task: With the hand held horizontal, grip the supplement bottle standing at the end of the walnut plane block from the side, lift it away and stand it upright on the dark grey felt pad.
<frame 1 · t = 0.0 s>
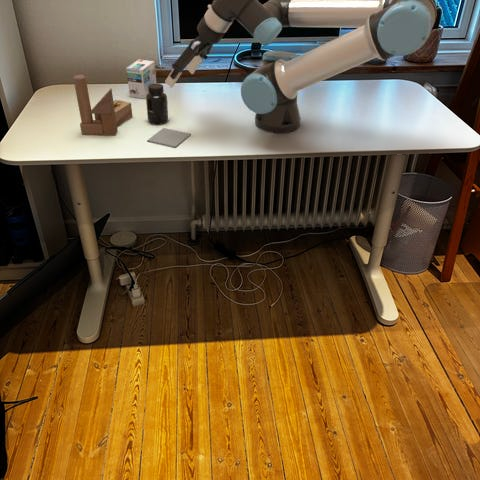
hand: (179, 77, 157), 15 cm above the table, tool tilted 35°, fingers open, 13 cm apart
wooden block: (99, 133, 159), on the table
supplement bottle: (158, 121, 168), on the table
felt pad: (169, 138, 157), on the table
plane block: (114, 121, 166), on the table
light bulb box: (143, 93, 187), on the table
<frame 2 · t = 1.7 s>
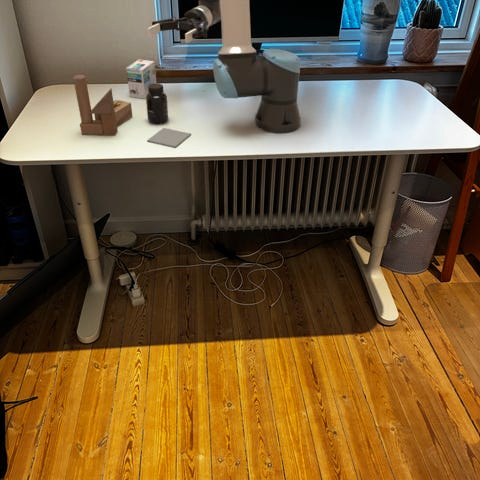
hand: (167, 35, 159), 25 cm above the table, tool horizontal, fingers open, 13 cm apart
nothing on the table moved.
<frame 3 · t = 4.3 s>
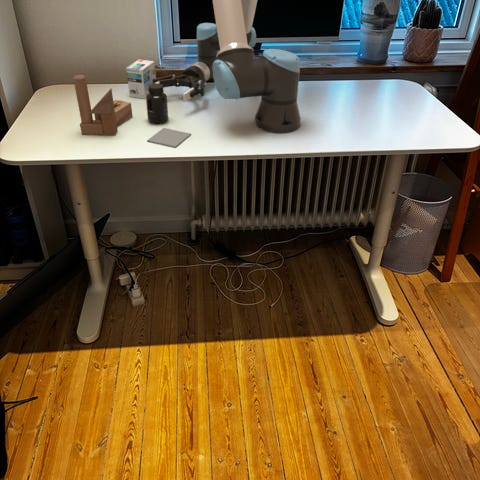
hand: (166, 94, 169), 6 cm above the table, tool horizontal, fingers open, 13 cm apart
nothing on the table moved.
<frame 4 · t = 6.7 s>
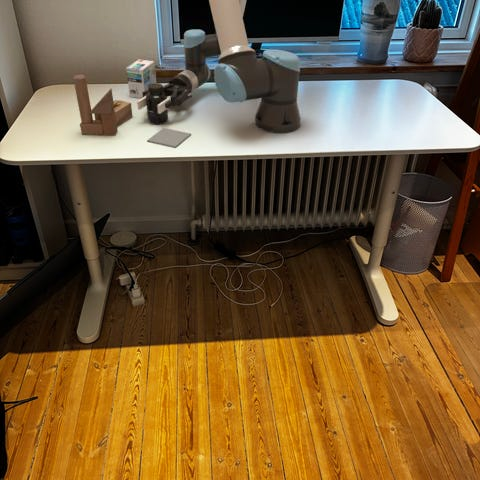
hand: (148, 107, 160), 7 cm above the table, tool horizontal, fingers closed on supplement bottle, 7 cm apart
supplement bottle: (158, 121, 168), on the table, touching gripper
everything else where it was.
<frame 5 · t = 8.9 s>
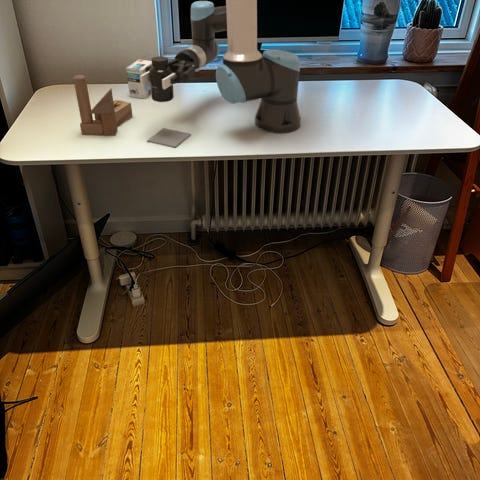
hand: (152, 82, 145), 18 cm above the table, tool horizontal, fingers closed on supplement bottle, 7 cm apart
supplement bottle: (163, 99, 153), point 11 cm above the table, touching gripper
everything else where it was.
when the fingers open (8 cm above the table, at t = 11.3 s): supplement bottle drops 1 cm, resting on felt pad.
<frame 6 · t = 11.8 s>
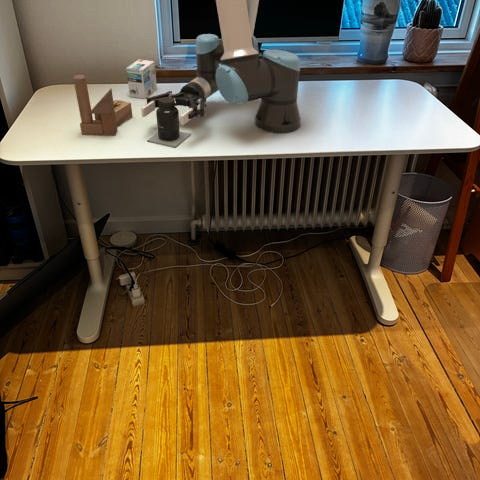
hand: (161, 116, 149), 9 cm above the table, tool horizontal, fingers open, 13 cm apart
supplement bottle: (169, 137, 157), resting on felt pad
everything else where it was.
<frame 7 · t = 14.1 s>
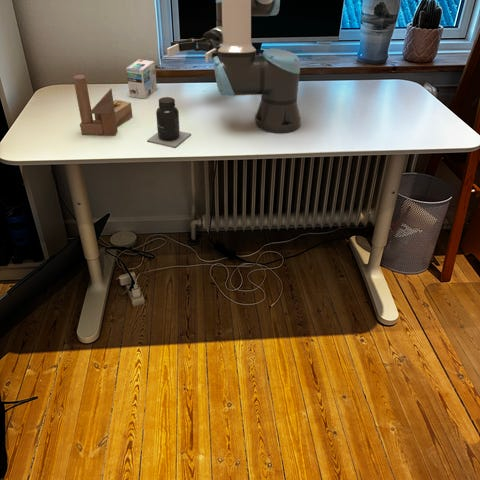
hand: (187, 55, 157), 21 cm above the table, tool horizontal, fingers open, 13 cm apart
nothing on the table moved.
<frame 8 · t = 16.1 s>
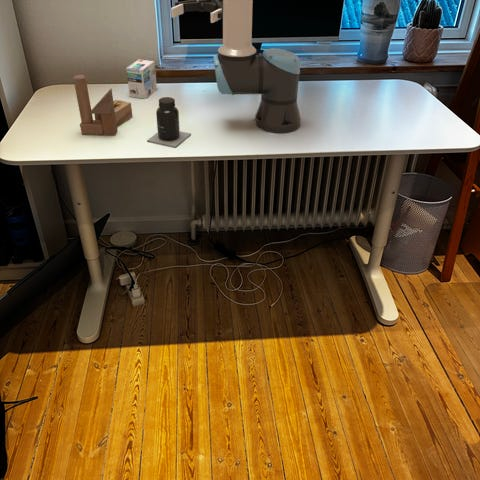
hand: (191, 15, 152), 32 cm above the table, tool horizontal, fingers open, 13 cm apart
nothing on the table moved.
at the end: supplement bottle inside the target area on the felt pad (0.1 cm from its centre), point 0.3 cm above the felt pad's base; supplement bottle tilted 0°; the gripper is holding nothing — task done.
